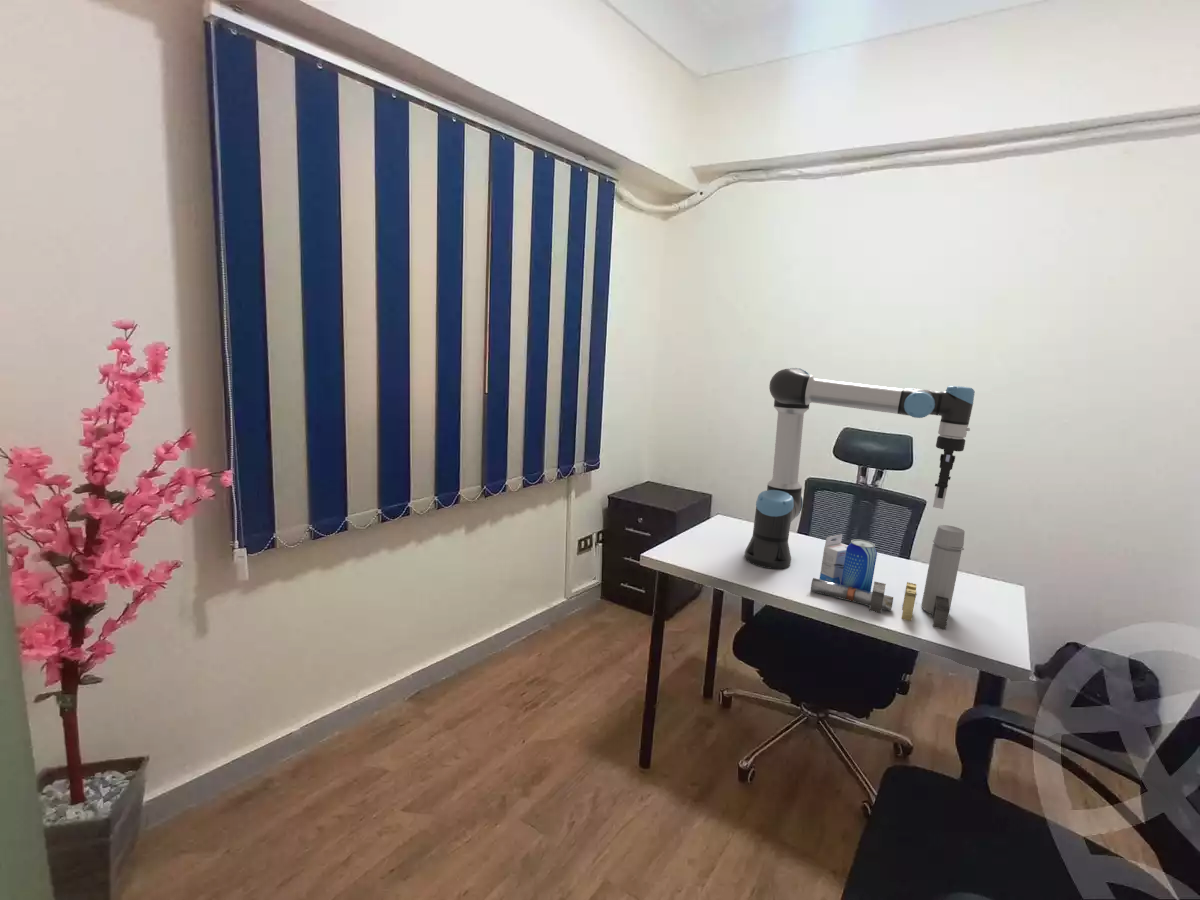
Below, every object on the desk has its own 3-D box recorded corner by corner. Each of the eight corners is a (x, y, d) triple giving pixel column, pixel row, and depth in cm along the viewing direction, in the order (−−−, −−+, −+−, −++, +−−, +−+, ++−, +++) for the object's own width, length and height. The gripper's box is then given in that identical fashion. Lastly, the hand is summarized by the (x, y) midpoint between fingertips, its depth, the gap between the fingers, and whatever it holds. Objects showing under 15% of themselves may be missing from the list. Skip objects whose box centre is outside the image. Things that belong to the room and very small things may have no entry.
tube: (810, 592, 179) (812, 580, 178) (812, 588, 182) (814, 576, 182) (890, 613, 169) (893, 599, 168) (891, 608, 172) (893, 595, 172)
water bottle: (938, 618, 167) (954, 534, 163) (914, 606, 174) (929, 525, 170) (960, 614, 171) (977, 531, 166) (935, 603, 178) (951, 523, 173)
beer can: (833, 588, 183) (841, 539, 180) (854, 585, 187) (862, 537, 184) (855, 600, 176) (863, 549, 173) (876, 597, 179) (884, 546, 176)
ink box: (832, 587, 184) (839, 542, 181) (818, 581, 188) (825, 536, 186) (848, 582, 189) (855, 538, 186) (835, 576, 193) (841, 533, 190)
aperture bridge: (901, 618, 166) (906, 591, 164) (902, 607, 173) (907, 582, 171) (911, 621, 165) (916, 594, 163) (911, 610, 172) (916, 584, 170)
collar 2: (932, 626, 162) (936, 606, 161) (932, 615, 169) (936, 595, 168) (945, 629, 161) (949, 609, 160) (944, 618, 168) (948, 598, 167)
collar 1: (869, 610, 169) (872, 590, 168) (871, 600, 177) (874, 581, 175) (880, 613, 168) (884, 593, 167) (882, 603, 175) (885, 583, 174)
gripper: (966, 443, 170) (951, 514, 175) (965, 434, 192) (952, 497, 196) (936, 439, 174) (923, 509, 178) (939, 430, 195) (927, 493, 199)
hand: (938, 503), depth 187 cm, fingers open, 13 cm apart
